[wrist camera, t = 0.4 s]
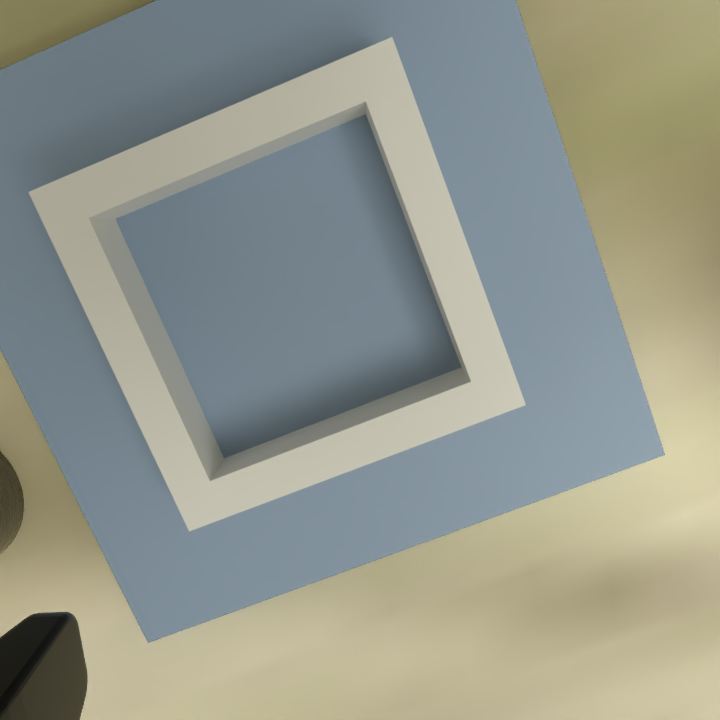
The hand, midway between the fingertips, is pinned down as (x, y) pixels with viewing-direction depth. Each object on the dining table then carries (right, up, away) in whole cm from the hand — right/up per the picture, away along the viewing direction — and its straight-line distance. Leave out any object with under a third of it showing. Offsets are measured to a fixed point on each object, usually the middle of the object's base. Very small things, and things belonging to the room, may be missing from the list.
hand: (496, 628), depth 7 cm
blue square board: (-4, +5, +14) cm, 15 cm away
